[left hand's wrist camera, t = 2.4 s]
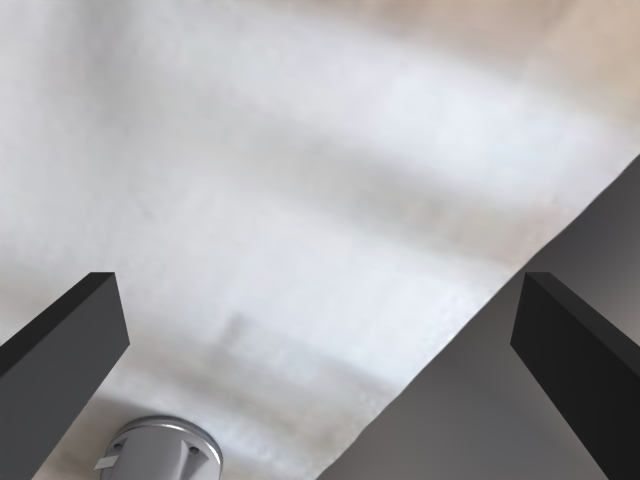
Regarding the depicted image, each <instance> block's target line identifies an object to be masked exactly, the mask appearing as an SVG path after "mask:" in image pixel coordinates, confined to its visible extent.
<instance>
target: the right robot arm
mask: <svg viewBox="0 0 640 480" xmlns="http://www.w3.org/2000/svg"><path fill="white" fill-rule="evenodd" d="M222 466H223V458H222V453H221V450H220V448H219V446H218V445H217V443H216V442H215V440H214V439H213V438H212V437H211V436H210V435H209V434H208V433H207V432H205V431H204V430H203V429H201V428H200V427H198V426H196V425H194V424H192V423H190V422H188V421H185V420H182V419H178V418H174V417H168V416H150V417H144V418H139V419H136V420H134V421H131V422H129V423H128V424H126V425H124V426H123V427H122V428H121V429H120V430H118V432H117V433H116V434H115V436H114V437H113V439H112V441H111V442H110V444H109V446H108V448H107V450H106V453H105V456H104V458H101V459H99V461H98V463H97V465H96V466H95V468H94V470H95V469H100V468H102V470H101V475H100V480H219V479H220V475H221V471H222Z"/></svg>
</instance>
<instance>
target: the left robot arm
mask: <svg viewBox="0 0 640 480" xmlns="http://www.w3.org/2000/svg"><path fill="white" fill-rule="evenodd" d="M129 345H130V342H129V337H128V333H127V328H126V323H125V319H124V314H123V309H122V305H121V300H120V296H119V291H118V286H117V282H116V277H115V272H90V273H89V274H88V275H87V276H85V277H84V278H83V279H82V280H81V281H79V282H78V283H77V284H76V285H75V286H73V287H72V288H71V289H70V290H68V291H67V292H66V293H65V294H64V295H62V296H61V297H60V298H59V299H58V300H56V301H55V302H54V303H53V304H51V305H50V306H49V307H48V308H47V309H45V310H44V311H43V312H42V313H41V314H39V315H38V316H37V317H36V318H34V319H33V320H32V321H31V322H30V323H28V324H27V325H26V326H25V327H24V328H22V329H21V330H20V331H19V332H17V333H16V334H15V335H14V336H13V337H11V338H10V339H9V340H8V341H7V342H5V343H4V344H3V345H2V346H0V480H31V479H32V478H33V476H34V475H35V474H36V472H37V471H38V470H39V468H40V467H41V465H42V464H43V463H44V461H45V460H46V459H47V457H48V456H49V454H50V453H51V452H52V450H53V449H54V448H55V446H56V445H57V443H58V442H59V441H60V439H61V438H62V437H63V435H64V434H65V432H66V431H67V430H68V428H69V427H70V426H71V424H72V423H73V422H74V420H75V419H76V417H77V416H78V415H79V413H80V412H81V411H82V409H83V408H84V406H85V405H86V404H87V402H88V401H89V400H90V398H91V397H92V395H93V394H94V393H95V391H96V390H97V389H98V387H99V386H100V384H101V383H102V382H103V380H104V379H105V378H106V376H107V375H108V373H109V372H110V371H111V369H112V368H113V367H114V365H115V364H116V363H117V361H118V360H119V358H120V357H121V356H122V354H123V353H124V352H125V350H126V349H127V347H128V346H129ZM510 345H511V346H512V347H513V349H514V350H515V352H516V353H517V354H518V356H519V357H520V358H521V360H522V361H523V362H524V364H525V365H526V367H527V368H528V369H529V371H530V372H531V373H532V375H533V376H534V378H535V379H536V380H537V382H538V383H539V384H540V386H541V387H542V389H543V390H544V391H545V393H546V394H547V395H548V397H549V398H550V400H551V401H552V402H553V404H554V405H555V406H556V408H557V409H558V411H559V412H560V413H561V415H562V416H563V417H564V419H565V420H566V421H567V423H568V424H569V426H570V427H571V428H572V430H573V431H574V432H575V434H576V435H577V436H578V438H579V439H580V441H581V442H582V443H583V445H584V446H585V448H586V449H587V450H588V452H589V453H590V454H591V456H592V457H593V459H594V460H595V461H596V463H597V464H598V465H599V467H600V468H601V469H602V471H603V472H604V474H605V475H606V476H607V478H608V479H609V480H640V346H638V345H637V344H636V343H635V342H633V341H632V340H631V339H630V338H629V337H627V336H626V335H625V334H624V333H623V332H621V331H620V330H619V329H618V328H616V327H615V326H614V325H613V324H612V323H610V322H609V321H608V320H607V319H606V318H604V317H603V316H602V315H601V314H599V313H598V312H597V311H596V310H595V309H593V308H592V307H591V306H590V305H589V304H587V303H586V302H585V301H584V300H582V299H581V298H580V297H579V296H578V295H576V294H575V293H574V292H573V291H572V290H570V289H569V288H568V287H567V286H565V285H564V284H563V283H562V282H561V281H559V280H558V279H557V278H556V277H555V276H553V275H552V274H551V273H549V272H526V273H525V277H524V282H523V286H522V291H521V296H520V300H519V305H518V309H517V314H516V319H515V323H514V328H513V333H512V337H511V342H510Z"/></svg>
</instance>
